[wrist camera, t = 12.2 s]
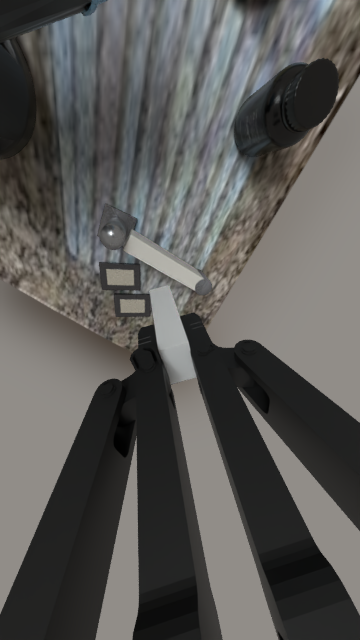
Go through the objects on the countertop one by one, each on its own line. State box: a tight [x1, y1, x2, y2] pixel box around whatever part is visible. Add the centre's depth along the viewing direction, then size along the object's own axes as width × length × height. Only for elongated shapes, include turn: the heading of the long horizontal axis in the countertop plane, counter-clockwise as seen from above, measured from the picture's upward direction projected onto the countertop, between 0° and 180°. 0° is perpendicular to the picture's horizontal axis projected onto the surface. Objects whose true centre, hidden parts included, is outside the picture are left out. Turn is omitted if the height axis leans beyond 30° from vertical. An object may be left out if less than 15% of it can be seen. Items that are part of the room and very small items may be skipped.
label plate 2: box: [114, 293, 150, 317], centre depth 41 cm, size 7×5×1 cm
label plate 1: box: [99, 262, 140, 290], centre depth 37 cm, size 7×5×1 cm
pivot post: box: [97, 204, 137, 250], centre depth 29 cm, size 5×5×9 cm
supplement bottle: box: [234, 58, 339, 157], centre depth 24 cm, size 7×7×12 cm
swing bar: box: [123, 229, 212, 295], centre depth 33 cm, size 16×3×5 cm, turn 57°
